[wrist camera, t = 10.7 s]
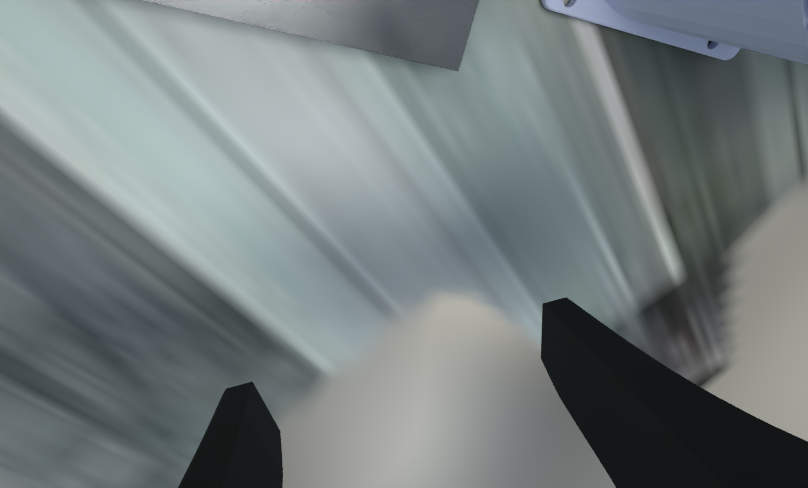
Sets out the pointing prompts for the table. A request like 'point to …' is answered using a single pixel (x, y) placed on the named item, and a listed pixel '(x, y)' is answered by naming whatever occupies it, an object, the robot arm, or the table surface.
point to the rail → (359, 23)
